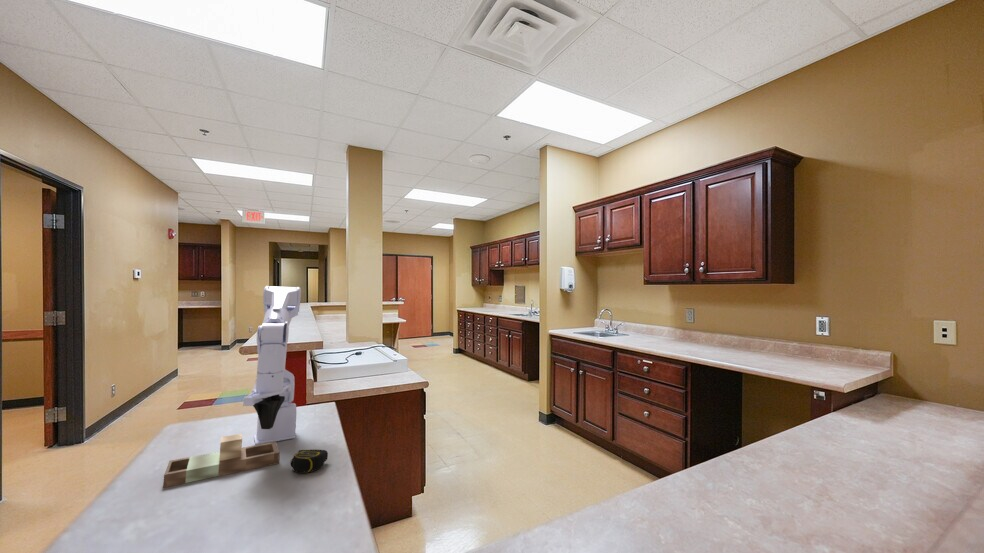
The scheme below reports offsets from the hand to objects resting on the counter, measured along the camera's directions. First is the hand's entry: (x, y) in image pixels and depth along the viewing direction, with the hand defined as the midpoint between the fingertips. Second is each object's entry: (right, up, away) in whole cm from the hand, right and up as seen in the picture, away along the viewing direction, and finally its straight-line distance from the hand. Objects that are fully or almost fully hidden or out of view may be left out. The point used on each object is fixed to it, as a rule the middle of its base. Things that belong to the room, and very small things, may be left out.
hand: (267, 428), depth 88 cm
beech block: (-6, -5, -4) cm, 9 cm away
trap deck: (-6, -7, -5) cm, 11 cm away
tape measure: (+12, -8, -4) cm, 15 cm away
